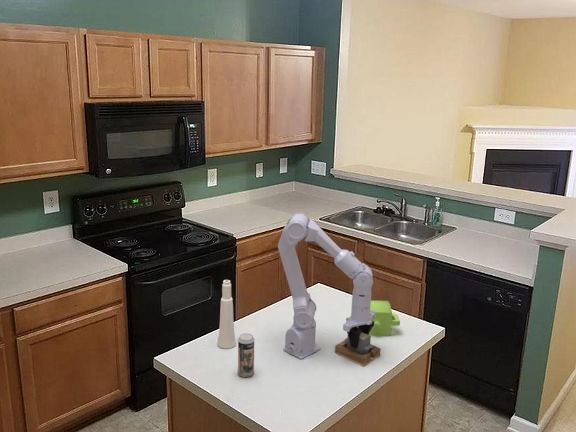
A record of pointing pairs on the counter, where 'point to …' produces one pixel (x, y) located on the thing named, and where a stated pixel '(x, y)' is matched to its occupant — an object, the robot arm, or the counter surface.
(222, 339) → the cosmetic bottle
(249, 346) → the beer can
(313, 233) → the robot arm
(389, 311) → the gearbox
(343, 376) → the counter surface
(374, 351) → the pocket block
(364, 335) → the block
